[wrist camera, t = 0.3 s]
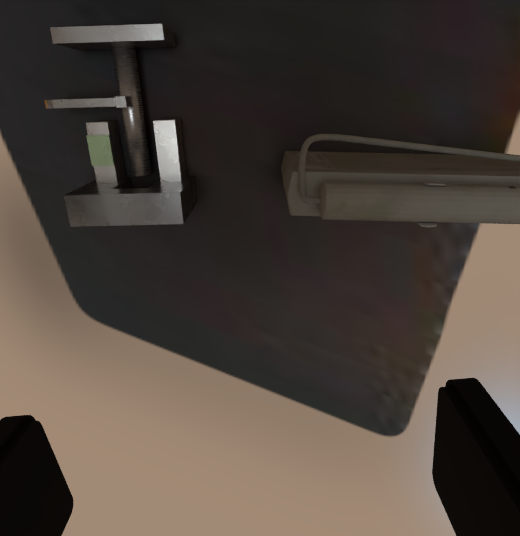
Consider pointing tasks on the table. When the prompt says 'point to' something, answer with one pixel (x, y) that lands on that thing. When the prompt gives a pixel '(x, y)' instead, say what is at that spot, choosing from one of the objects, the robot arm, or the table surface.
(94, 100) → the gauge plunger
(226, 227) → the table surface
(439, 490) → the robot arm
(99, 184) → the grey u-shaped bracket
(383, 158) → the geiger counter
